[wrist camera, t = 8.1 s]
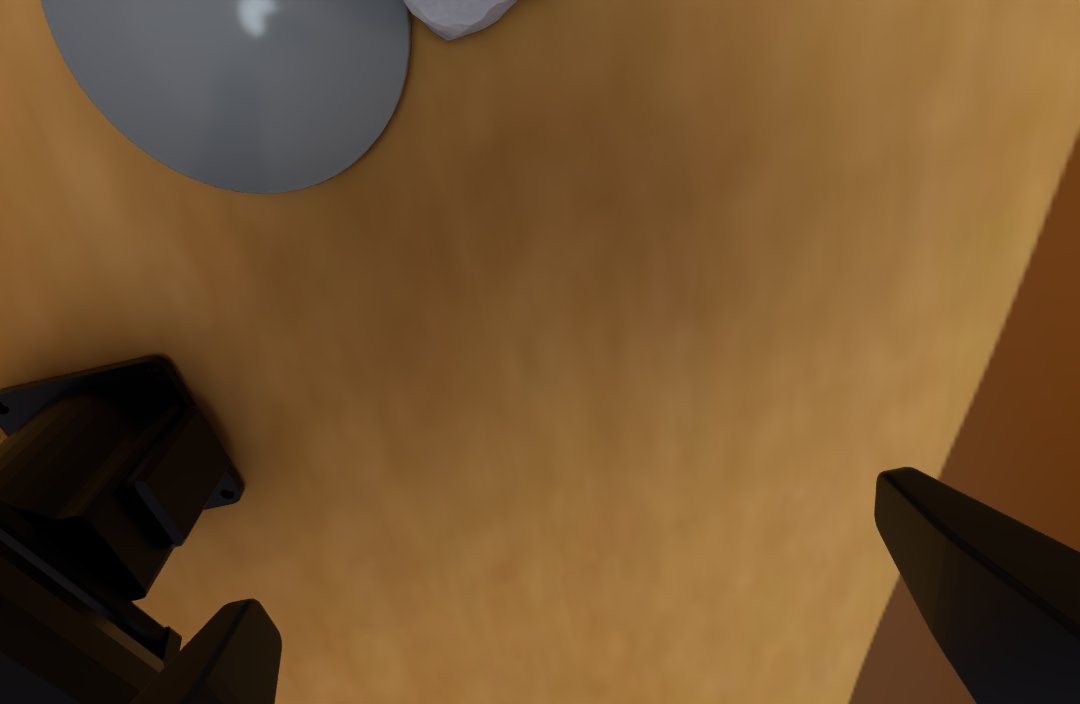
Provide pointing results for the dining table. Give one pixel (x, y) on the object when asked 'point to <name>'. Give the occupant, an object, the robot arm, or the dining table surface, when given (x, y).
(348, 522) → the dining table surface
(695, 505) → the dining table surface
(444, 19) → the stone block
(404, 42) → the slate coaster
